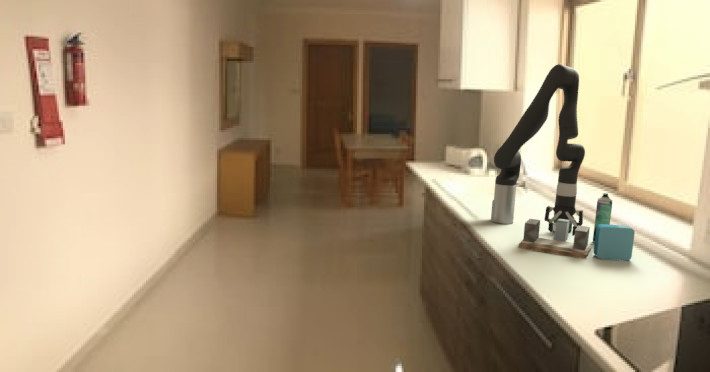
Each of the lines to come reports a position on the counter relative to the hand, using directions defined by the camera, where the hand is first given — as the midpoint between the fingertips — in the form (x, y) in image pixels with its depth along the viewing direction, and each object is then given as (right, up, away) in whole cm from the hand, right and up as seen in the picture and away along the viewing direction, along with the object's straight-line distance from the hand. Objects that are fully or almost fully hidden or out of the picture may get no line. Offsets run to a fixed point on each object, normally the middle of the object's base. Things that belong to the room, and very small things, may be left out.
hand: (562, 233), depth 233 cm
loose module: (0, -3, 0) cm, 3 cm away
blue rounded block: (+10, -7, -22) cm, 25 cm away
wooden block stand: (-7, -5, -13) cm, 15 cm away
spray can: (+15, -4, -1) cm, 15 cm away
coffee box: (+5, -1, +15) cm, 15 cm away
